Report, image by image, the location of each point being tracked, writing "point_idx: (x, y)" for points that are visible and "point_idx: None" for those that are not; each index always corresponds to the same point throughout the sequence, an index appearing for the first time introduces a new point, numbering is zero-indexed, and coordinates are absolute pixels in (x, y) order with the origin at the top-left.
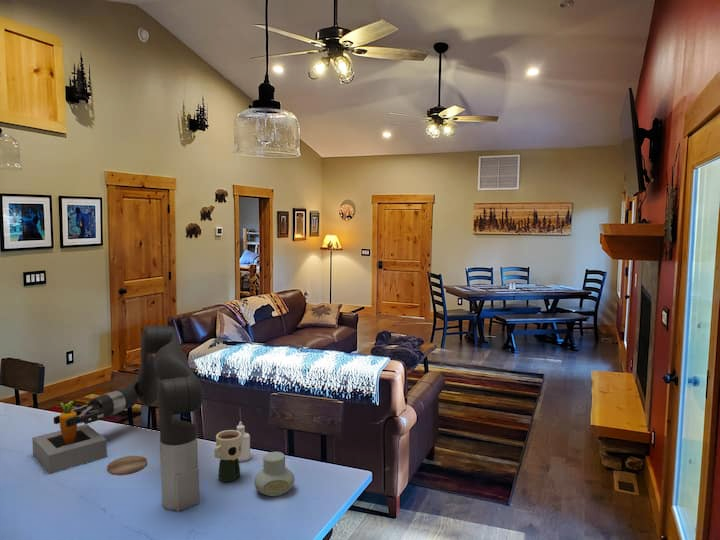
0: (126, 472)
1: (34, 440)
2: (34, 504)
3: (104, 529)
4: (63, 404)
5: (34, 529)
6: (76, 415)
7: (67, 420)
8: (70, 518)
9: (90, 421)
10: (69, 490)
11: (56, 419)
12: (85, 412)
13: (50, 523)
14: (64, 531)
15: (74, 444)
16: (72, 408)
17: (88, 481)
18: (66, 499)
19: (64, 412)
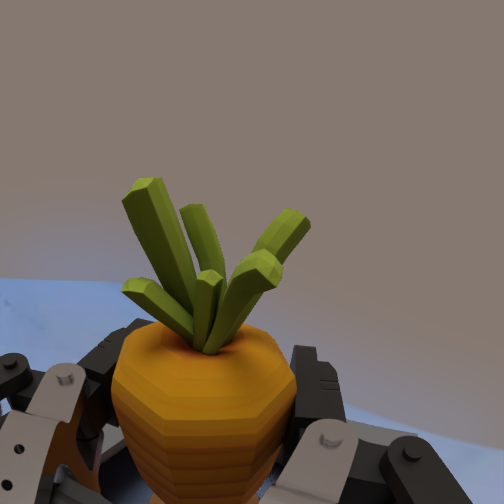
0: None
1: (377, 428)
2: (119, 315)
3: (9, 281)
4: (264, 235)
5: (88, 284)
6: (113, 392)
7: (140, 319)
8: (48, 294)
9: (1, 419)
10: (70, 343)
11: (290, 364)
12: (17, 410)
13: (72, 289)
14: (50, 281)
15: (113, 428)
16: (142, 296)
17: (38, 368)
18: (66, 323)
19: (241, 333)
